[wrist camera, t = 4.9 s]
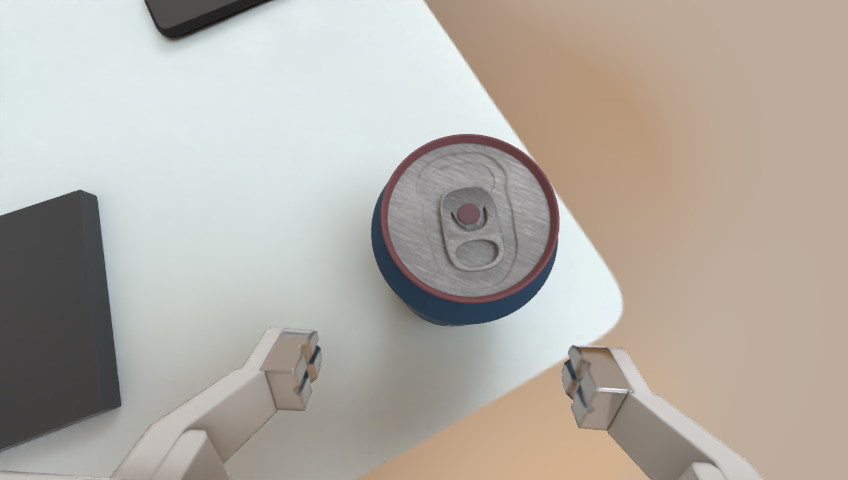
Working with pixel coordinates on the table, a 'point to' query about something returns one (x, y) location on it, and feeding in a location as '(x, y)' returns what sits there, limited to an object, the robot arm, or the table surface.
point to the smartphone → (191, 13)
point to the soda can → (466, 230)
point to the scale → (53, 319)
